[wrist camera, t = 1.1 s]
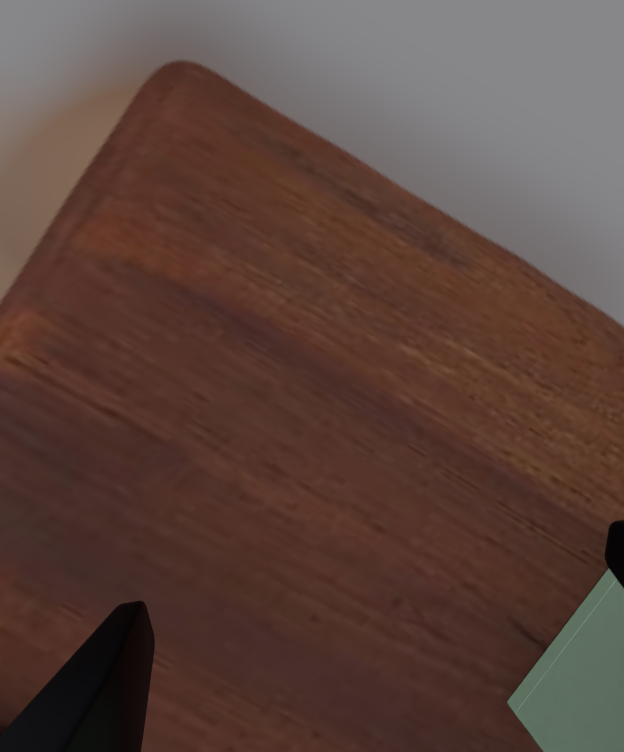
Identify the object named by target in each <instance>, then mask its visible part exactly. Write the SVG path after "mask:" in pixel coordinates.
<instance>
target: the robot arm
mask: <svg viewBox="0 0 624 752" xmlns="http://www.w3.org/2000/svg"><path fill="white" fill-rule="evenodd" d="M605 560H606V563H607V565H608V567H609V569H610V570H611V572H612V573H613V575H614V576H615V577H616V579H617V580H618V581H619V583H620V584H621V586H622V587H623V588H624V520H620V521H615V522H613V523H612V524H611V525H610V527H609V531H608V537H607V543H606V549H605ZM154 647H155V640H154V633H153V629H152V625H151V622H150V618H149V614H148V611H147V607H146V605H145V603H144V602H143V601H135V602H129V603H123V604H120V605H119V606H117V607H116V608H115V609H114V610H113V612H112V613H111V614H110V615H109V616H108V617H107V618H106V619H105V620H104V621H103V623H102V624H101V625H100V626H99V627H98V628H97V629H96V630H95V631H94V632H93V634H92V635H91V636H90V637H89V638H88V639H87V640H86V641H85V642H84V644H83V645H82V646H81V647H80V648H79V649H78V650H77V651H76V652H75V653H74V655H73V656H72V657H71V658H70V659H69V660H68V661H67V662H66V663H65V665H64V666H63V667H62V668H61V669H60V670H59V671H58V672H57V673H56V674H55V676H54V677H53V678H52V679H51V680H50V681H49V682H48V683H47V684H46V686H45V687H44V688H43V689H42V690H41V691H40V692H39V693H38V694H37V695H36V697H35V698H34V699H33V700H32V701H31V702H30V703H29V704H28V705H27V707H26V708H25V709H24V710H23V711H22V712H21V713H20V714H19V715H18V716H17V718H16V719H15V720H14V721H13V722H12V723H11V724H10V725H9V726H8V728H7V729H6V730H5V731H4V732H3V733H2V734H1V735H0V752H141V746H142V740H143V733H144V725H145V717H146V710H147V702H148V694H149V687H150V679H151V671H152V664H153V656H154Z"/></svg>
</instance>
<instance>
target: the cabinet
mask: <svg viewBox="0 0 624 752" xmlns="http://www.w3.org/2000/svg"><path fill="white" fill-rule="evenodd" d="M507 704H508V705H509V706H510V708H511V709H512V710H513V712H514V713H515V714H516V716H517V717H518V718H519V720H520V721H521V722H522V724H523V725H524V726H525V728H526V729H527V730H528V732H529V733H530V734H531V736H532V737H533V738H534V740H535V741H536V742H537V744H538V745H539V746H540V748H541V749H542V750H543V752H624V588H623V587H622V586H621V584H620V583H619V581H618V580H617V579H616V577H615V576H614V575H613V573H612V572H611V570H610V569H609V568H608V570H607V571H606V572H605V574H604V575H603V576H602V578H601V579H600V580H599V582H598V583H597V584H596V585H595V587H594V588H593V589H592V591H591V592H590V593H589V595H588V596H587V597H586V599H585V600H584V601H583V603H582V604H581V605H580V606H579V608H578V609H577V610H576V612H575V613H574V614H573V616H572V617H571V618H570V620H569V621H568V622H567V624H566V625H565V626H564V627H563V629H562V630H561V631H560V633H559V634H558V635H557V637H556V638H555V639H554V641H553V642H552V643H551V645H550V646H549V647H548V648H547V650H546V651H545V652H544V654H543V655H542V656H541V658H540V659H539V660H538V662H537V663H536V664H535V666H534V667H533V668H532V670H531V671H530V672H529V673H528V675H527V676H526V677H525V679H524V680H523V681H522V683H521V684H520V685H519V687H518V688H517V689H516V691H515V692H514V693H513V694H512V696H511V697H510V698H509V700H508V701H507Z"/></svg>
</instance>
